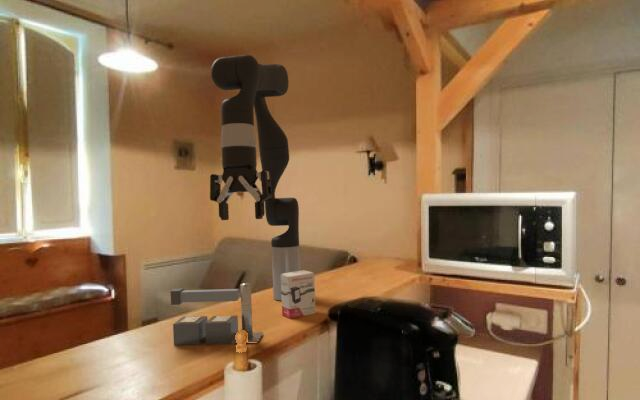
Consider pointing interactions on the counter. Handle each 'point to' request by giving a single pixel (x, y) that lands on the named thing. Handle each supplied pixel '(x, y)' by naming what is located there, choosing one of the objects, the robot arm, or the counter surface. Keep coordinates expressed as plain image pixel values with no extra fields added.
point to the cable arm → (203, 295)
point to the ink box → (298, 294)
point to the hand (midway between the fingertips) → (241, 219)
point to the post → (247, 314)
